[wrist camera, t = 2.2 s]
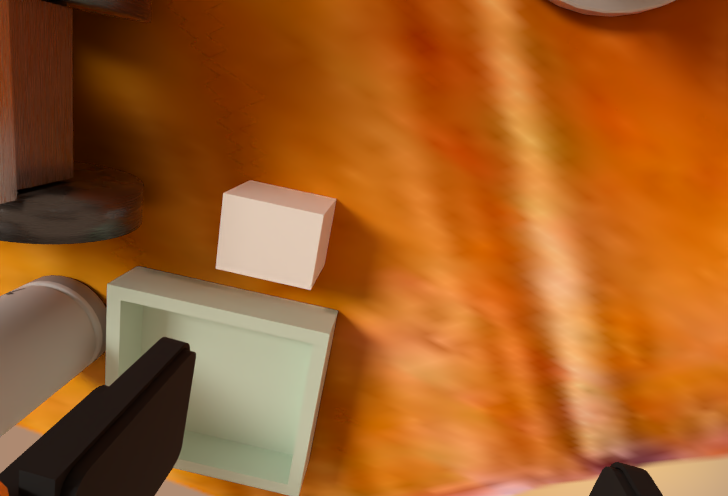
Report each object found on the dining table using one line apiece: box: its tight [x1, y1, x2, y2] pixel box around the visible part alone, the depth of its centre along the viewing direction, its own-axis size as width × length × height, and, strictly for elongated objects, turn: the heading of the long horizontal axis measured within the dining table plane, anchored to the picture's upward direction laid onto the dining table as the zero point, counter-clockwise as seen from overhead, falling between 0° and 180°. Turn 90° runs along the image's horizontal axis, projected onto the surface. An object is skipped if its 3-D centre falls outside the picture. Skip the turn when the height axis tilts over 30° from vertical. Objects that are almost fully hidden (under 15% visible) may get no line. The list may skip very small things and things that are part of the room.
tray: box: [105, 266, 338, 496], centre depth 29 cm, size 13×12×3 cm
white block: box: [216, 180, 337, 290], centre depth 25 cm, size 5×4×4 cm
